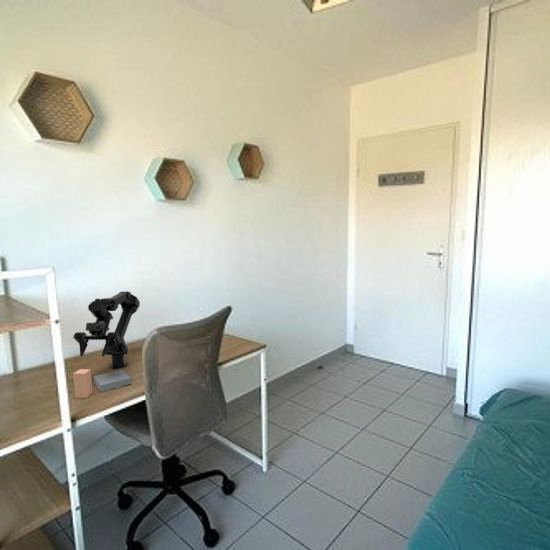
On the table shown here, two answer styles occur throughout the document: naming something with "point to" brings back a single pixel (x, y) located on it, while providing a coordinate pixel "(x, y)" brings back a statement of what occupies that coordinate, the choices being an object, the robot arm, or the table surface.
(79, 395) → the brick
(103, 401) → the table surface
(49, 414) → the table surface
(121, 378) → the base block
